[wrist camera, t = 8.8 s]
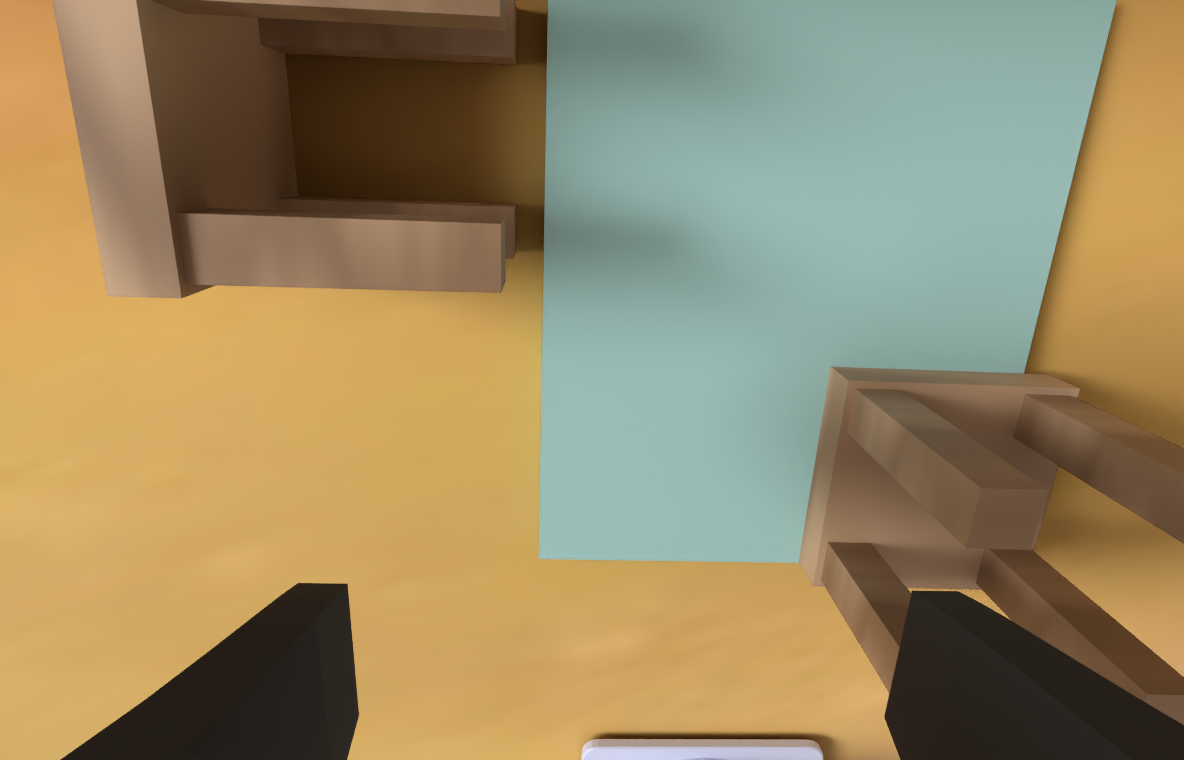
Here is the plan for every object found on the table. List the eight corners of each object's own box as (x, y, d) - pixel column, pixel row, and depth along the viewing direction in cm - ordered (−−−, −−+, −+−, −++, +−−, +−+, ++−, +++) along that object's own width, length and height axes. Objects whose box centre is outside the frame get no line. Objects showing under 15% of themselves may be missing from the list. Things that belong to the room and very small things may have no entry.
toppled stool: (500, 306, 12) (108, 296, 11) (516, 259, 18) (254, 251, 17) (498, -91, 10) (29, -123, 9) (516, 0, 16) (224, -16, 15)
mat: (964, 554, 21) (976, 565, 20) (539, 547, 20) (538, 558, 19) (1097, 4, 16) (1117, -2, 15) (549, -25, 15) (548, -33, 15)
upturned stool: (996, 565, 20) (1192, 750, 14) (798, 561, 20) (905, 748, 13) (1048, 374, 18) (1300, 486, 12) (830, 366, 18) (972, 477, 12)
